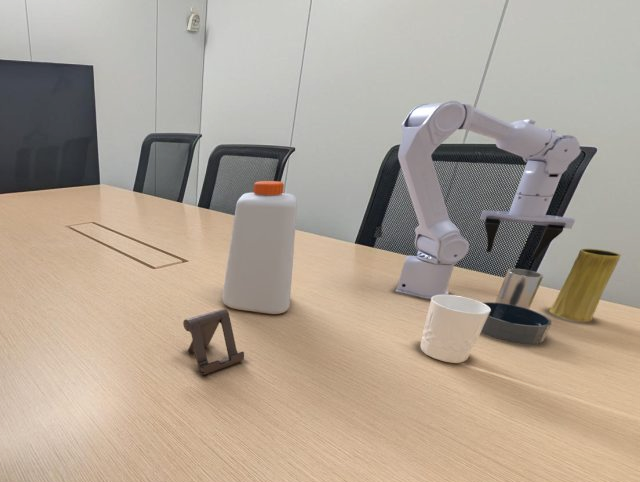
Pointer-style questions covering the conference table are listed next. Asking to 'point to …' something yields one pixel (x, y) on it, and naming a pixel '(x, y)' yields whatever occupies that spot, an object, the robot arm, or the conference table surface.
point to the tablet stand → (203, 333)
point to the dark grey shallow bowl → (515, 324)
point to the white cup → (453, 327)
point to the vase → (585, 284)
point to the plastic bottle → (261, 250)
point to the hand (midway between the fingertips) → (511, 254)
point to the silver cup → (519, 287)
